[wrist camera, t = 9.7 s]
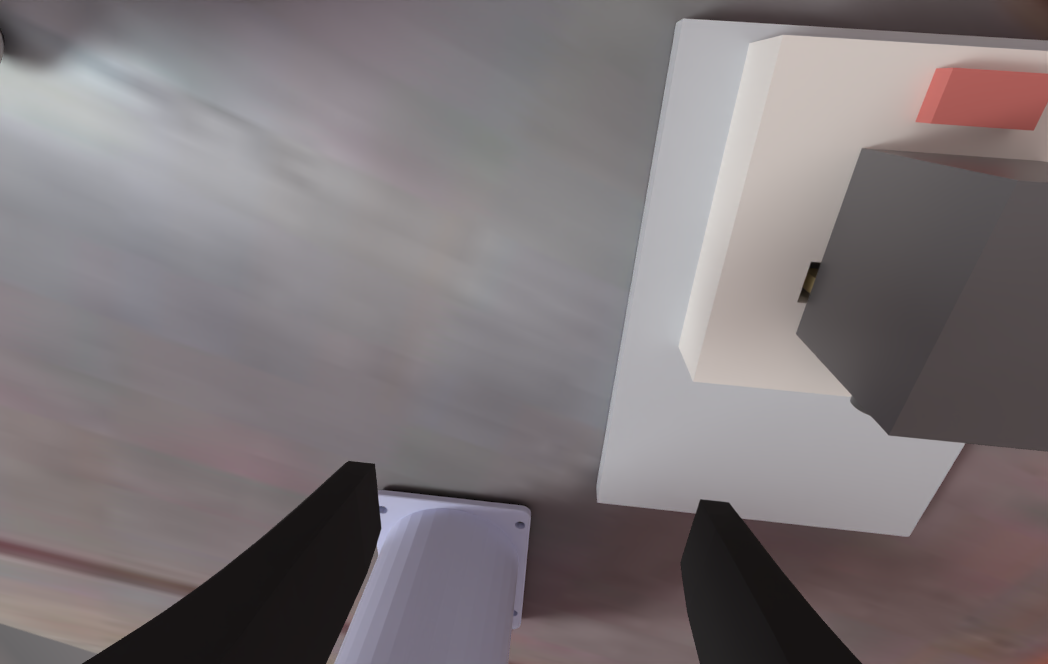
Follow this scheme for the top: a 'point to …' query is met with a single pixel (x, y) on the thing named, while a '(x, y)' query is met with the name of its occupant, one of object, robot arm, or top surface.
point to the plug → (939, 297)
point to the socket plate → (831, 178)
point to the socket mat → (725, 410)
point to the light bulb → (1, 45)
